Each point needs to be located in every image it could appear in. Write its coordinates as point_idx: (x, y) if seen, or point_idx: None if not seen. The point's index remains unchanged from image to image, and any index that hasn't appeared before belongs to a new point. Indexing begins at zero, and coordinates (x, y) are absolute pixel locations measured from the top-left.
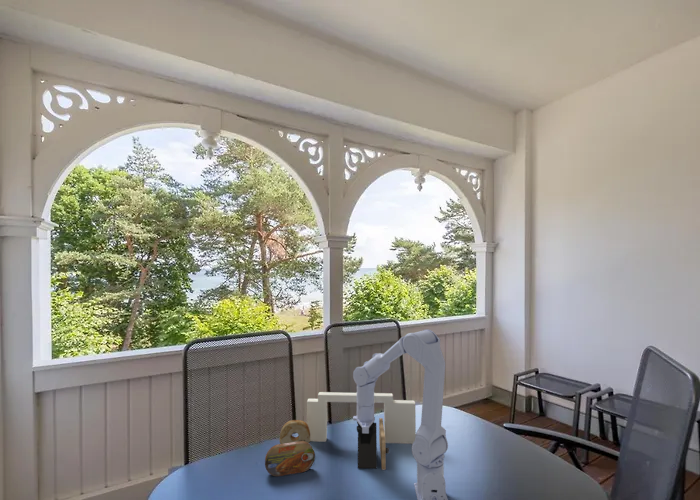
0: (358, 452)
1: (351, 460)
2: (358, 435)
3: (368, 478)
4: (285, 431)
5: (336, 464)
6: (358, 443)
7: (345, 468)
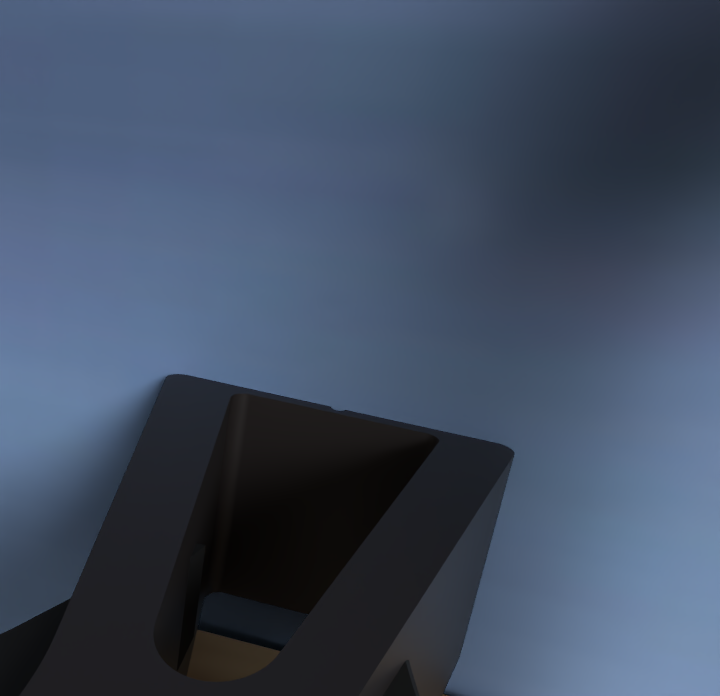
0: (138, 456)
1: (367, 332)
2: (41, 668)
3: (2, 445)
4: None
5: (294, 117)
6: (106, 536)
7: (193, 229)
